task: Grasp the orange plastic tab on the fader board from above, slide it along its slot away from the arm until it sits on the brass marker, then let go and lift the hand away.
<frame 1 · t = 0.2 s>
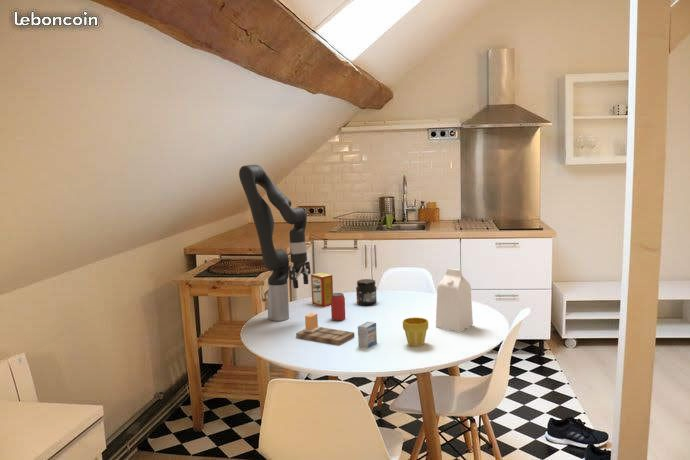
hand: (301, 286, 281), 17 cm above the table, tool pointing down, fingers open, 8 cm apart
supplement container: (366, 304, 314), on the table
beer can: (338, 319, 288), on the table
medicine box: (367, 345, 250), on the table
milk: (454, 326, 271), on the table
fader tab: (311, 322, 264), point 6 cm above the table, slide at 0.0 cm
fader board: (325, 337, 261), on the table
plant pot: (415, 344, 249), on the table
baking soda box: (322, 304, 316), on the table
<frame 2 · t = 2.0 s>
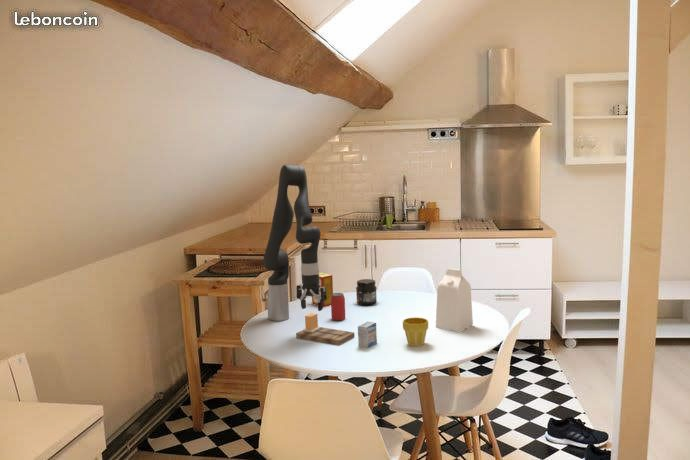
hand: (312, 309, 263), 11 cm above the table, tool pointing down, fingers open, 8 cm apart
nothing on the table moved.
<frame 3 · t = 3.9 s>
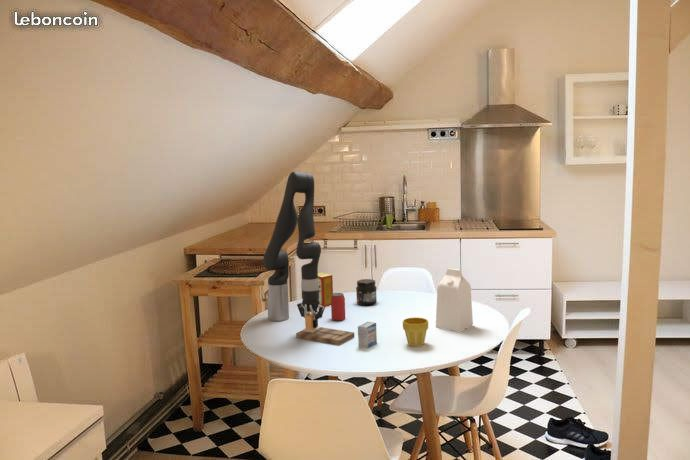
hand: (311, 327, 264), 4 cm above the table, tool pointing down, fingers closed on fader tab, 3 cm apart
fader tab: (311, 322, 264), point 6 cm above the table, slide at 0.0 cm, touching gripper
everything else where it was.
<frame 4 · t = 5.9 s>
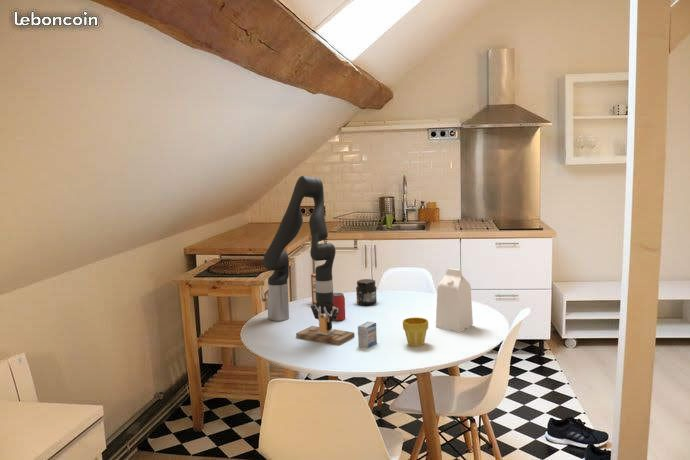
hand: (325, 329, 260), 4 cm above the table, tool pointing down, fingers closed on fader tab, 3 cm apart
fader tab: (325, 324, 260), point 6 cm above the table, slide at 7.3 cm, touching gripper
everything else where it was.
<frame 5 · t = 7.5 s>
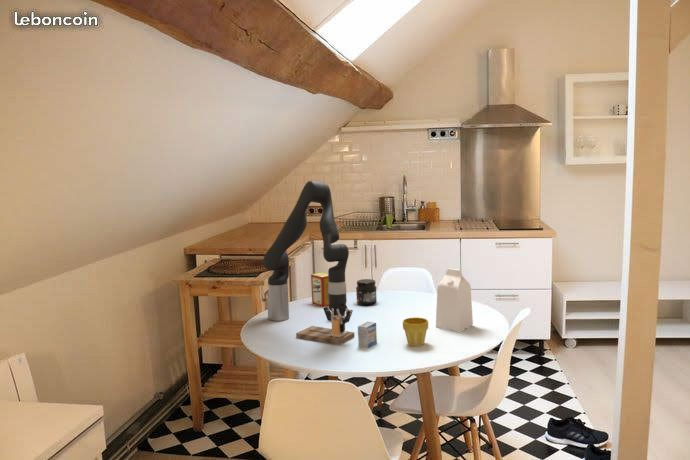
hand: (338, 331, 257), 4 cm above the table, tool pointing down, fingers closed on fader tab, 3 cm apart
fader tab: (338, 326, 256), point 6 cm above the table, slide at 13.9 cm, touching gripper
everything else where it was.
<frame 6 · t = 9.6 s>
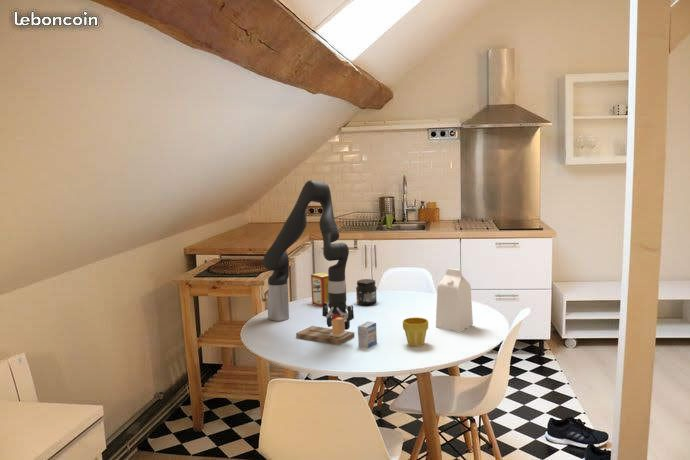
hand: (338, 327, 257), 5 cm above the table, tool pointing down, fingers open, 8 cm apart
fader tab: (338, 326, 256), point 6 cm above the table, slide at 13.9 cm
everything else where it was.
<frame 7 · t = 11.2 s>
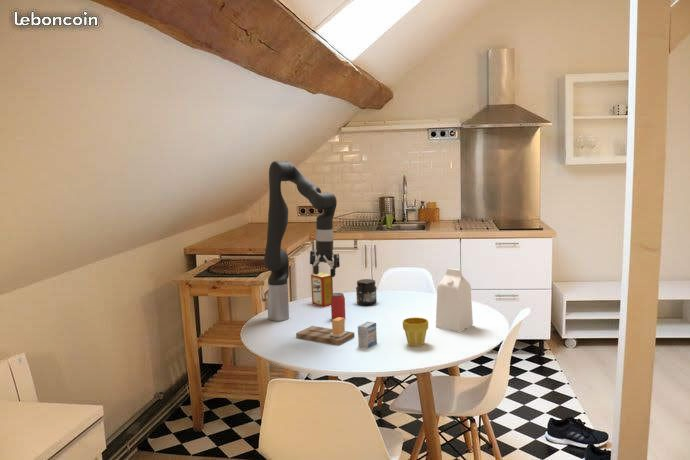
hand: (324, 275, 266), 25 cm above the table, tool pointing down, fingers open, 8 cm apart
nothing on the table moved.
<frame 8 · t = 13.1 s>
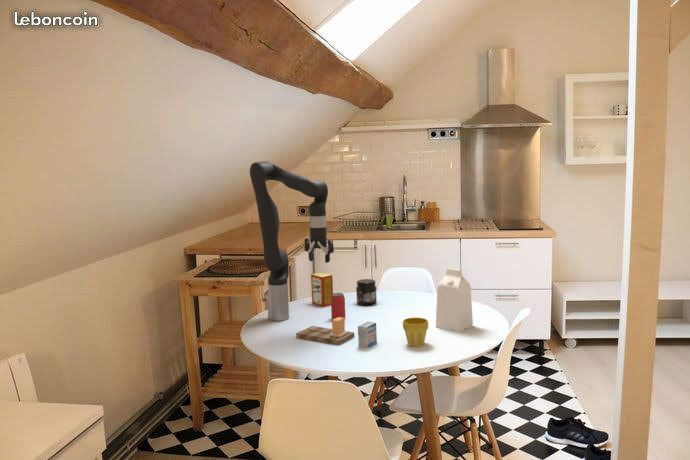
hand: (319, 261, 272), 30 cm above the table, tool pointing down, fingers open, 8 cm apart
nothing on the table moved.
at the end: fader tab slide at 13.9 cm; the gripper is holding nothing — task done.
